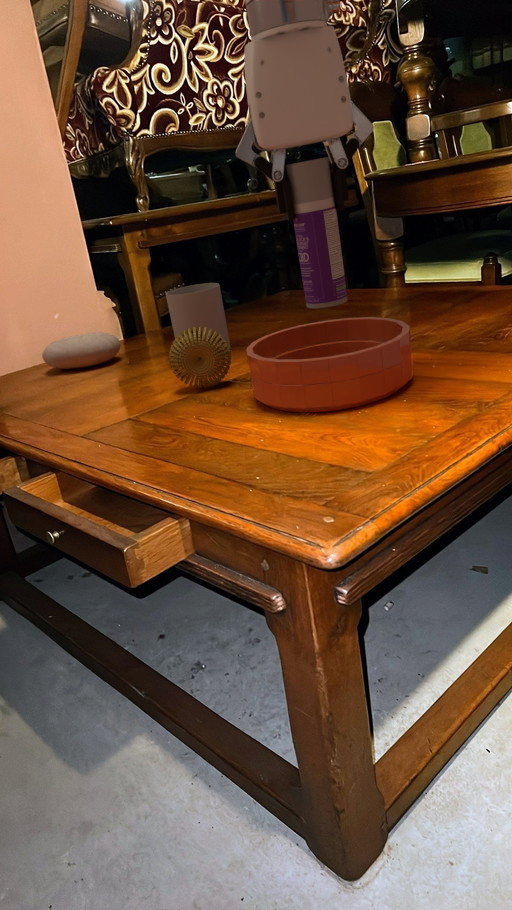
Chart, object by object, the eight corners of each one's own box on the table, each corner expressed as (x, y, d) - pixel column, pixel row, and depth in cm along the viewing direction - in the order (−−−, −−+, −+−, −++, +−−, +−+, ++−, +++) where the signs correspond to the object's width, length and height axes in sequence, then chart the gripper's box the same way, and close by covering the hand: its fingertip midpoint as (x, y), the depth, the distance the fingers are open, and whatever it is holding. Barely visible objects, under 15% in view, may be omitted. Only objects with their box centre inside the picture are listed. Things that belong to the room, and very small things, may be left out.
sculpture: (236, 377, 92) (225, 318, 89) (236, 386, 88) (224, 324, 86) (177, 387, 93) (165, 328, 90) (174, 396, 89) (161, 335, 86)
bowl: (389, 355, 90) (385, 309, 88) (435, 395, 73) (431, 339, 71) (249, 380, 90) (241, 335, 88) (261, 427, 73) (252, 372, 71)
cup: (203, 361, 104) (190, 295, 100) (167, 358, 109) (154, 295, 106) (241, 346, 109) (230, 282, 105) (206, 344, 115) (194, 283, 111)
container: (298, 309, 78) (276, 167, 72) (319, 299, 81) (299, 162, 75) (335, 307, 75) (314, 159, 69) (355, 297, 78) (337, 155, 73)
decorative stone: (38, 378, 111) (30, 348, 109) (57, 364, 119) (49, 335, 118) (115, 367, 110) (107, 336, 108) (128, 353, 118) (122, 324, 116)
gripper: (363, 12, 71) (383, 198, 78) (201, 44, 71) (235, 227, 78) (381, -6, 64) (401, 200, 71) (202, 29, 64) (239, 232, 71)
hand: (314, 212), depth 74 cm, fingers closed on container, 4 cm apart
